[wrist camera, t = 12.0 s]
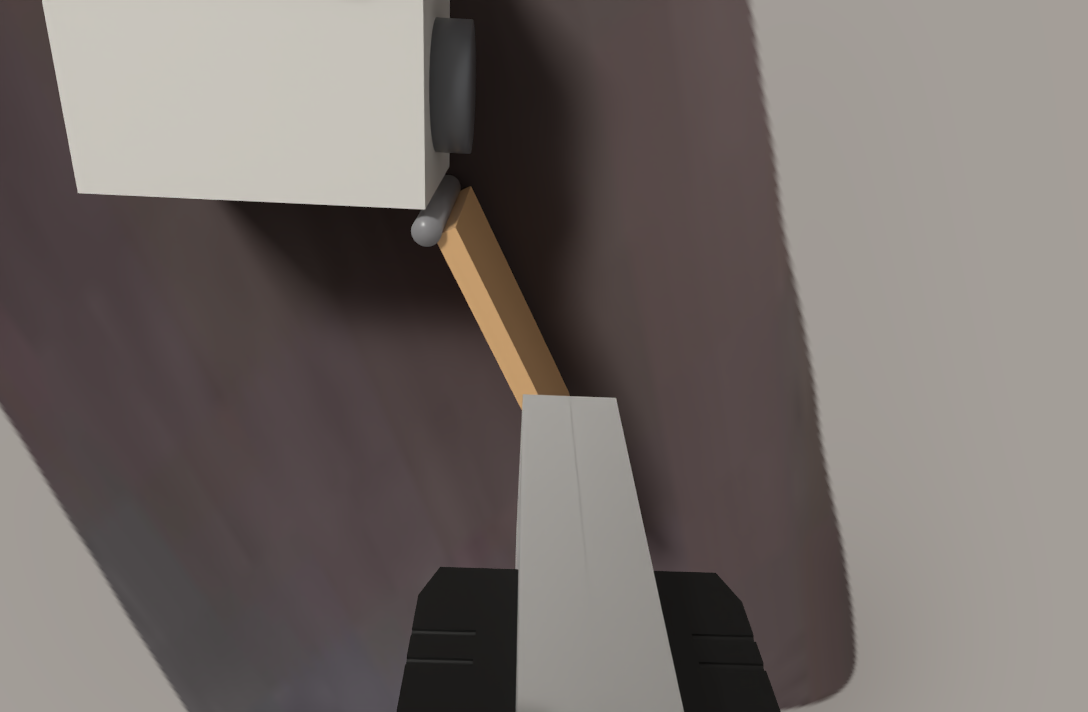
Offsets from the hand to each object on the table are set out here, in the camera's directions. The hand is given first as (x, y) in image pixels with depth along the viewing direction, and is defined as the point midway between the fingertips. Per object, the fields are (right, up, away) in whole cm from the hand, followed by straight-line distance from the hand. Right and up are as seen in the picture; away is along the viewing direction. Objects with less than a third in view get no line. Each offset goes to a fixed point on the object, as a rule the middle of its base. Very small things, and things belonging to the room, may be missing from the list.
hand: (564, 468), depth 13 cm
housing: (-10, +15, +17) cm, 25 cm away
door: (-1, +3, +22) cm, 23 cm away
